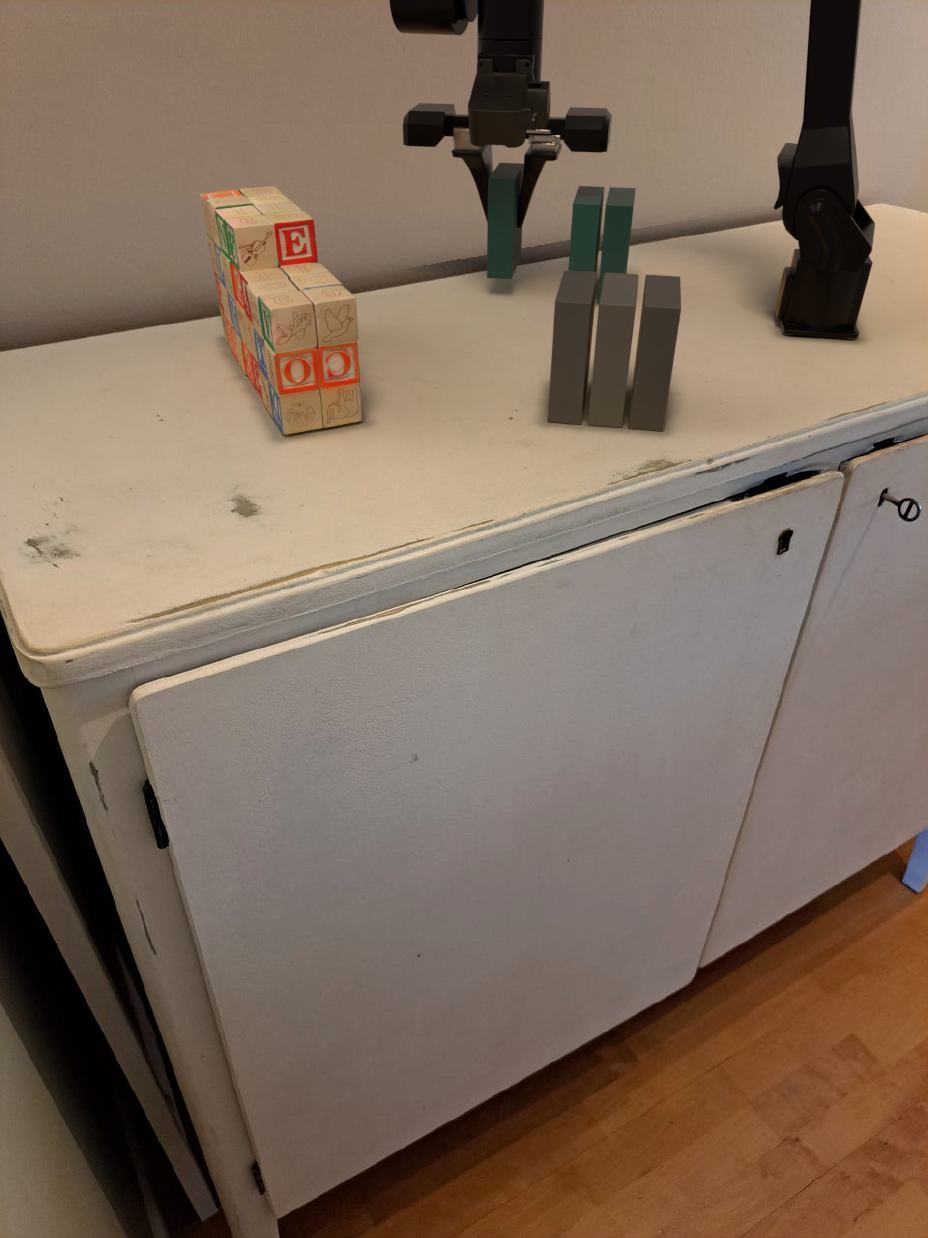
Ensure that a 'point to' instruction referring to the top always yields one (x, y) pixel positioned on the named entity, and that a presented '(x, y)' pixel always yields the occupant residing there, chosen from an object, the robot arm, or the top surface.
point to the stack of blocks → (283, 309)
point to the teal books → (589, 230)
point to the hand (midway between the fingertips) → (505, 226)
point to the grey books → (613, 349)
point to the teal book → (504, 221)
